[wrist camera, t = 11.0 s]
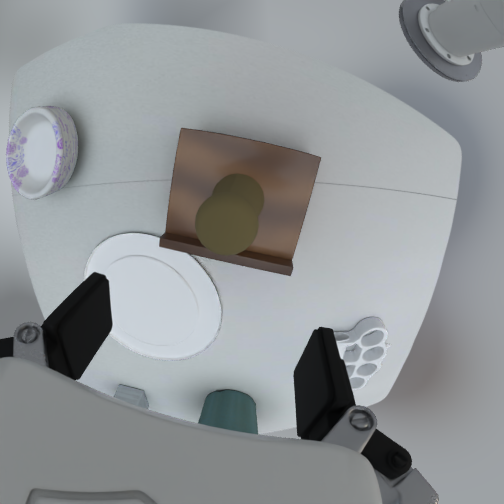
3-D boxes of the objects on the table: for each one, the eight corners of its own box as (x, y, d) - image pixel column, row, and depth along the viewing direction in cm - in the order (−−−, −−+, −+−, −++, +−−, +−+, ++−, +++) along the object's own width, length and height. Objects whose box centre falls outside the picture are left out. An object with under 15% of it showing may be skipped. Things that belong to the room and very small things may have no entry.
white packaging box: (125, 399, 61) (110, 433, 50) (119, 383, 58) (102, 419, 47) (149, 405, 61) (136, 441, 50) (144, 390, 58) (129, 428, 47)
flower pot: (241, 375, 53) (234, 439, 38) (277, 410, 58) (278, 466, 43) (183, 392, 57) (168, 447, 42) (223, 424, 62) (216, 474, 47)
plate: (136, 196, 39) (134, 197, 38) (255, 316, 47) (255, 318, 46) (67, 290, 47) (66, 291, 47) (161, 374, 55) (160, 376, 54)
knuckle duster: (327, 317, 46) (397, 315, 46) (311, 381, 53) (372, 377, 53) (331, 328, 43) (404, 326, 43) (312, 393, 50) (375, 388, 50)
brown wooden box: (197, 129, 35) (175, 127, 26) (309, 153, 36) (325, 158, 26) (182, 221, 41) (158, 246, 31) (285, 244, 41) (290, 276, 32)
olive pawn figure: (254, 231, 32) (249, 276, 22) (205, 216, 32) (178, 253, 21) (271, 182, 30) (275, 205, 20) (219, 166, 29) (195, 181, 19)
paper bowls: (99, 169, 38) (70, 178, 30) (46, 201, 40) (18, 213, 33) (79, 91, 32) (49, 87, 25) (27, 131, 34) (-1, 136, 27)
